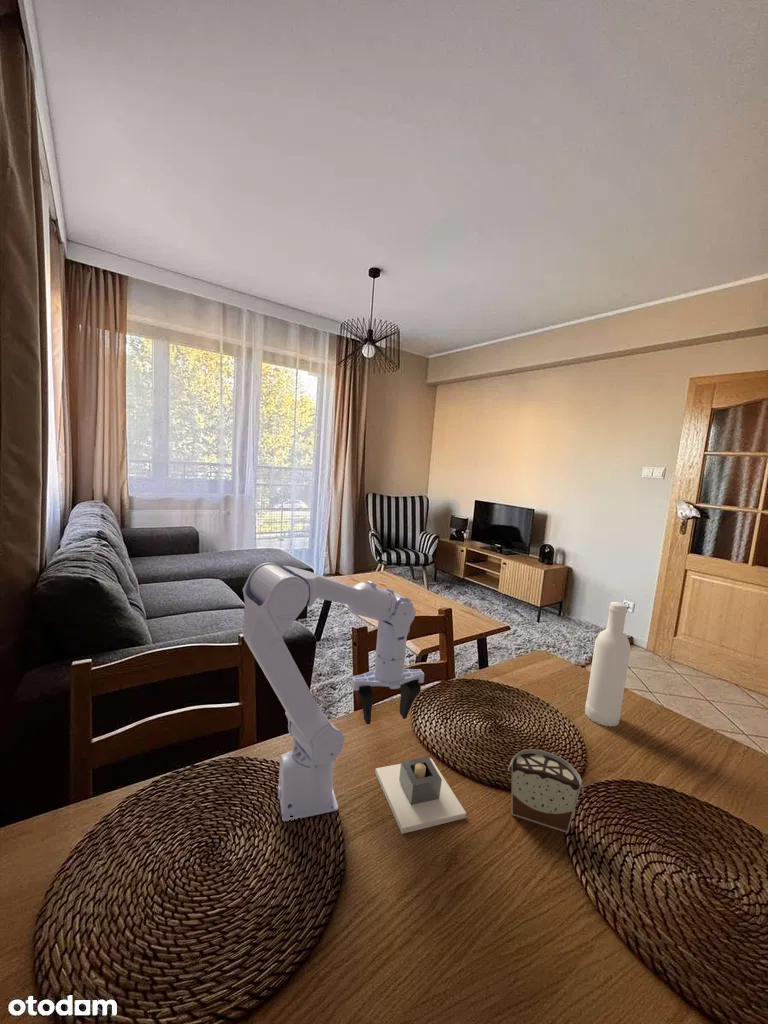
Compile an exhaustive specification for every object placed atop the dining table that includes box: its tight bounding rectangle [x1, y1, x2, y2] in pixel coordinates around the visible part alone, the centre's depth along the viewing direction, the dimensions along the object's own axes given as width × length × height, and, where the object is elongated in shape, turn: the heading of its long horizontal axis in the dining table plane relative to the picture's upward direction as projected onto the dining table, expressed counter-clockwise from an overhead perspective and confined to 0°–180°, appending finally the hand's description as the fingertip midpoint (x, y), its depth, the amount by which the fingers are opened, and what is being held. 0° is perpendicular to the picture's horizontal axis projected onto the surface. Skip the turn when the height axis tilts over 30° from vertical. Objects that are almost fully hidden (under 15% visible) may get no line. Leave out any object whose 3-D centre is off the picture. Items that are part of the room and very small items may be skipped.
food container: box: [507, 748, 585, 834], centre depth 76 cm, size 12×6×10 cm, turn 71°
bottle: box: [584, 601, 632, 728], centre depth 106 cm, size 8×8×30 cm
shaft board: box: [374, 757, 467, 835], centre depth 78 cm, size 12×14×6 cm
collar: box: [399, 756, 442, 805], centre depth 78 cm, size 6×6×4 cm
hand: (385, 718), depth 84 cm, fingers open, 7 cm apart
